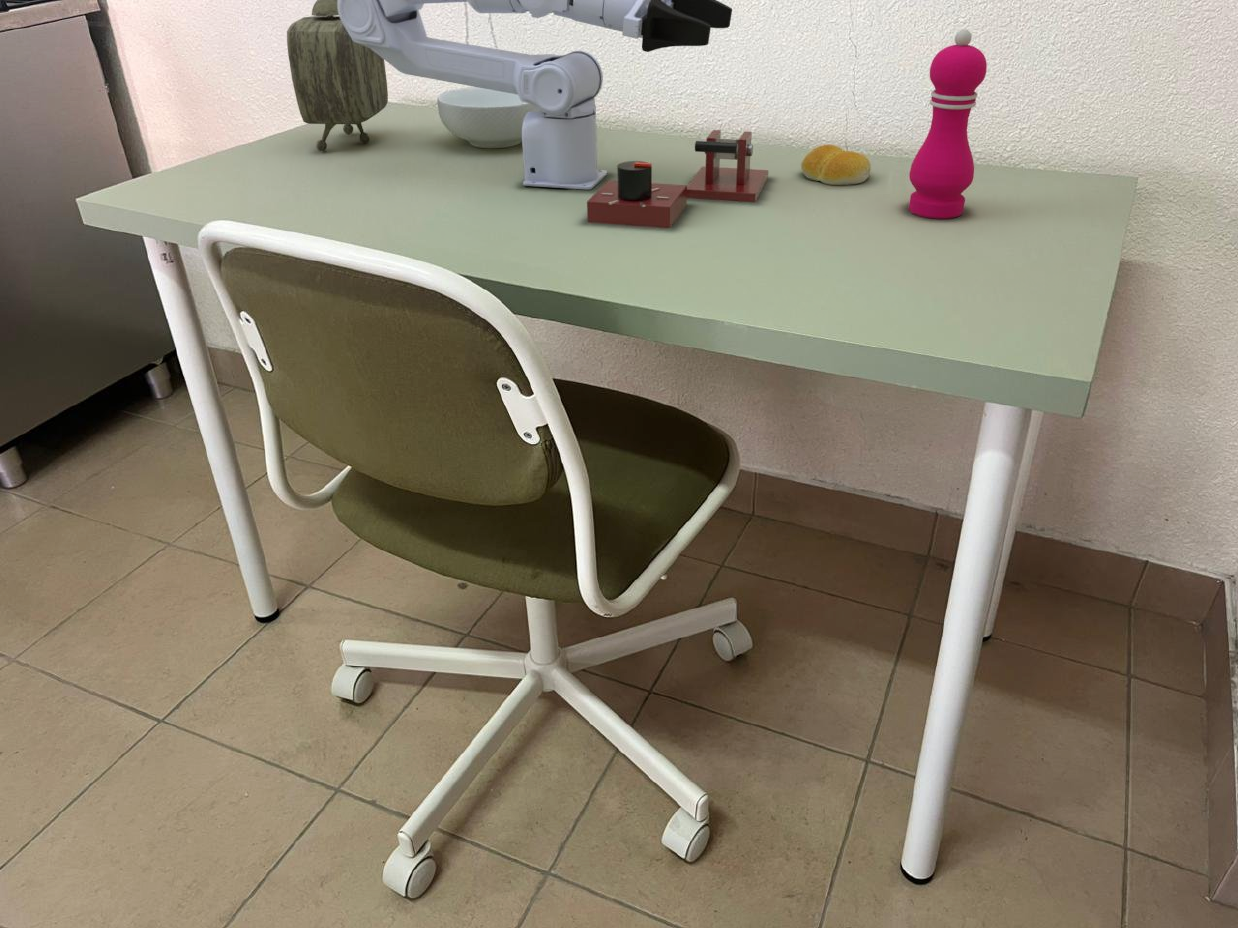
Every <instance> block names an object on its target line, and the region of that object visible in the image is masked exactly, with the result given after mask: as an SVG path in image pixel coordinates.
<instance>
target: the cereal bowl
mask: <svg viewBox="0 0 1238 928" xmlns="http://www.w3.org/2000/svg"><path fill="white" fill-rule="evenodd" d="M436 101H437V109H438V114H439V118H440V121H441V123H442V124H443V126H444V127H445V128H446V130H447V131H448V132H449V133H451V134H452V135H453V136H454V137H455V136H456V137H457V138H459V139H462V140H464V141H467V142H468V143H469V144H470V146H473V147H476V148H480V149H482V148H483V149H502V148H510V147H514V146H517V145H519V144H521V143H522V127H523V121H524V118H525V116H526V114H527V113H528V112H530V111H540V109H539V108H537V107H536V106H535V105H533V104H530V103H526V102H522V101H521V100H520V97H519V95H518V94H512V93H507V92H501V91H496V90H490V89H485V88H479V87H474V86H468V87H459V88H455V89H454V88H453V89H450V90H446V91H443V92H442V93H441V92H440V94H438V96H437V100H436Z"/></svg>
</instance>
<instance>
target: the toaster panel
mask: <svg viewBox="0 0 1238 928" xmlns="http://www.w3.org/2000/svg"><path fill="white" fill-rule="evenodd" d="M687 185H688V184H672V183H671V184H670V183H656V182H652V196H651V198H649V199H647V200H643V201H626V200H622V199H620V198H618V180H607V181H606V183H604V185H602V186H601V187H600V188H599V189H598V190H597V191H596V192H595V193H594V194H593V195H592V196H591V197H590V198H589V199H588V200H586V209H587V211H586V212H587V213H586V215H587V223H592V224H604V225H605V224H607V225H620V226H635V227H646V228H647V227H649V228H661V229H671V227H672V226H673V225H674V224H675V223H676V221H677V219H678V218H679V217H680V215H681V214H682V213H683V211H684V209H685V208H686V207H687V204H688V198H687Z"/></svg>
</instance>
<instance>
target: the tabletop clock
mask: <svg viewBox="0 0 1238 928" xmlns="http://www.w3.org/2000/svg"><path fill="white" fill-rule="evenodd" d="M337 3H338V0H316V1H315V2H314V3H313V5H312V9H311V16H304V17H302V18H299V19H298V20H296V21H294V22H293V23H291V24H290V25H289V27H288V29H287V31H286V44H287V45H286V46H287V55H288V62H289V68H290V75H291V81H292V85H293V89H294V95H295V99H296V103H297V107H298V110H299V113H300V116H301V119H302V122H303V123H305V124H308V125H324V129H323V134H322V138H321V139H319V140H318V139H317V141H316V143H315V148H316V149H317V150H318V151H319V152H325V151H326V150H327V148H328V143H327V142H326V140H327V138H328V136H329V135H330V132H331V130H332V129H333V128H334V127H335V126H336V125H343V127H342V131H343V133H344V134H346V135H351V134H353V132H354V126H353V125H356V127H357V129H358V132H359V133H360V134H359V135H358V136H359V137H358V139H359V142H360V143H361V144H368V143H369V142H370V140H371V139H370V138H371V137H370V135H369V134H368V133H367V132H365V131H364V128H363V125H362V123H365V122H367V121H368V120H369V119H372V118H373V117H375V116H376V115H378V114H379V113H380V112H381V111H383V110H384V109H385V108H386V107H387V104H388V102H389V96H388V95H389V90H388V89H389V88H388V81H387V73H386V64H385V60H384V59H383V58H382V57H380V56H379V55H378V54H377V53H375V52H374V51H373V50H371V49H370V48H368V47H366V46H363V45H361V44H358V43H355V42H354V41H353V40H352V38H351V37H350V35H349V33H348V32H347V30H346V28H345V27H344V25H343V23H342V21H341V19H340V17H339V13H338V6H337Z"/></svg>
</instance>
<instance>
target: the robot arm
mask: <svg viewBox="0 0 1238 928" xmlns="http://www.w3.org/2000/svg"><path fill="white" fill-rule="evenodd" d="M447 3H448V4H449V3H468V4H469V5H470V7H471V8H472V9H473V10H474V11H475V12H476V13H479V14H526V13H528V12H529V14H530V15H531V17H532V18H536V19H539V18H544V17H546V16H548V15H549V14H552V13H553V15H554V16H558V17H563V18H567V19H570V20H572V21H574V22H579V23H582V24H587V25H591V26H597V27H600V28H605V29H609V30H614V31H617V32H622V34H621V35H622V36H623V37H628V38H631V39H637V40H638V39H639V38H640V39H642V40H641V49H642V51H643V52H644V53H645V52H646V53H649V52H652V51H656V50H660V49H665V48H671V47H672V48H673V47H704V46H708V45H709V42H710V35H711V29H728V28H730V26H731V22H732V21H731V19H732V14H733V8H732V7H730V6H729V5H727V4H725V3H723V2H721V1H720V0H719V1H718V0H338V3H337V6H338V13H339V15H338V16H339V17H340V19H341V21H342V23H343V25H344V27H345V28H346V30H347V32H348V33H349V35H350V37H351V38H352V40H353V41H354V42H355V43H358V44H361V45H363V46H366V47H368V48H370V49H371V50H373V51H374V52H375V53H377V54H378V55H379V56H380V57H382V58H383V59H384V62H387V63H388V64H389V65H391V66H392V67H393V68H394V69H396V70H397V71H398V72H400V73H402V74H404V75H408V76H414V77H420V78H425V79H430V80H436V81H441V82H446V83H447V82H448V83H451V84H452V83H453V84H457V85H462V86H468V87H479V88H485V89H490V90H496V91H501V92H507V93H512V94H518V95H519V97H520V100H521V101H522V102H526V103H530V104H533V105H535V106H536V107H537V108H539V109H540V111H530V112H528V113H527V114H526V116H525V118H524V121H523V127H522V142H521V143H522V157H523V158H522V159H523V173H524V180H523V181H522V185H523V186H525V187H539V188H540V187H542V188H553V189H554V188H555V189H572V190H584V191H585V190H586V191H587V190H589V191H590V190H593V188H594V187H595V186H596V185H597V184H599V182H600V181H602V180H603V179H604V178H605V177H606V176H607V175H608V171H607V170H605V169H604V170H603V169H598V138H597V112H596V111H597V107H596V99H595V98H596V97H597V96H598V95H599V94H600V92H601V90H602V86H603V82H604V75H603V71H602V67H601V65H600V63H599V61H598V60H597V58H596V57H594V56H593V55H592V54H591V53H589V52H587V51H584V50H574V51H570V52H569V53H567V54H555V53H545V54H543V53H542V54H530V53H529V54H528V53H523V52H518V51H517V52H516V51H510V50H506V49H505V50H504V49H499V48H493V47H487V46H481V45H476V44H469V43H462V42H459V41H458V42H457V41H451V40H446V39H439V38H435V37H434V38H433V37H429V36H428V35H427V32H426V29H425V25H424V22H423V19H422V16H421V12H420V11H421V10H422V9H423V8H424V5H426V4H447Z"/></svg>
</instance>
